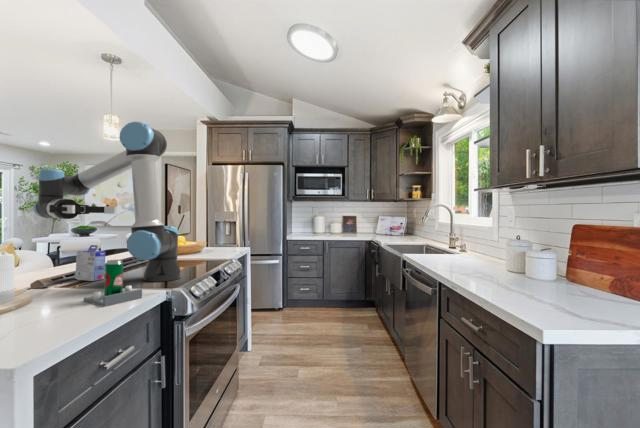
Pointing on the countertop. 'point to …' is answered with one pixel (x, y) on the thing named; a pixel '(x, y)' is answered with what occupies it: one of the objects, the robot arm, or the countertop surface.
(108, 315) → the countertop surface
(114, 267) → the soda can
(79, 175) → the robot arm
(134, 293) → the dock
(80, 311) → the countertop surface
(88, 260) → the ink cartridge box
